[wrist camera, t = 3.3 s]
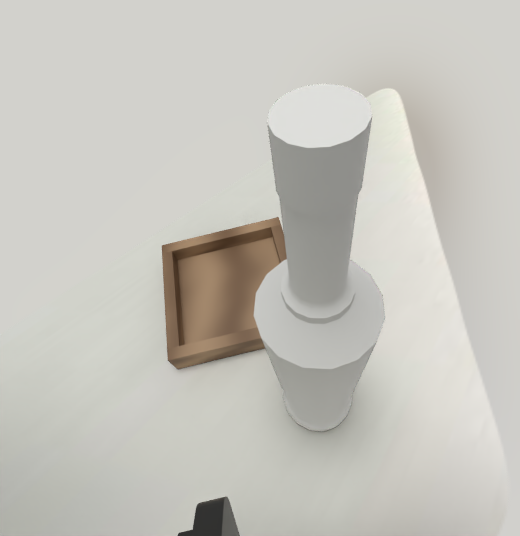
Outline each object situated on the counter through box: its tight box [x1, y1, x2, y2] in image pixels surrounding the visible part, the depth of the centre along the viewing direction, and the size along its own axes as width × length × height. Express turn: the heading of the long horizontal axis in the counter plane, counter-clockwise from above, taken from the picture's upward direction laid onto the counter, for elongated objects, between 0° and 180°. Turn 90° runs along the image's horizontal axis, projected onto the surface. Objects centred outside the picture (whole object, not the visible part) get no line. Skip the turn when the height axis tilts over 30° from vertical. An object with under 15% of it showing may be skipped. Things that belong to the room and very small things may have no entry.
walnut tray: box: [162, 217, 287, 369], centre depth 33 cm, size 12×12×2 cm
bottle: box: [254, 84, 385, 431], centre depth 17 cm, size 5×5×25 cm
